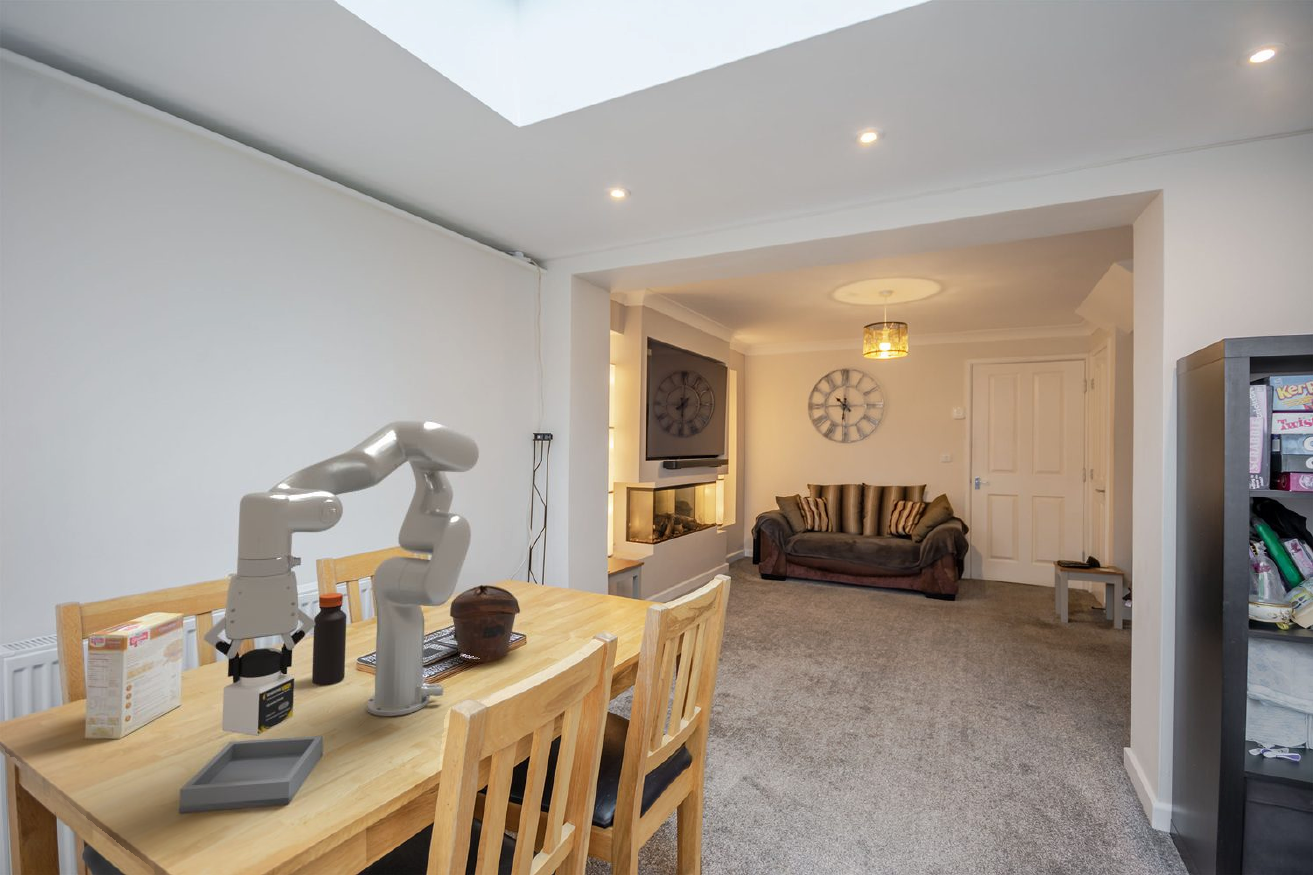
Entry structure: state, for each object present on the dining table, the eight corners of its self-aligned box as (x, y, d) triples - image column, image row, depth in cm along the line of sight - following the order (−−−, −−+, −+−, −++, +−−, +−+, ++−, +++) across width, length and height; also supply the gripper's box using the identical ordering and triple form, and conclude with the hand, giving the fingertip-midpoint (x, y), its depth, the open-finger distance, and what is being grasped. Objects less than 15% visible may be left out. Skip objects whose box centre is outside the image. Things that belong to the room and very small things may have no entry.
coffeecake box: (148, 704, 127) (152, 611, 128) (182, 705, 127) (186, 612, 128) (81, 738, 112) (86, 633, 113) (120, 739, 112) (124, 634, 113)
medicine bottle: (258, 736, 95) (261, 660, 96) (220, 731, 97) (223, 656, 97) (293, 717, 102) (296, 646, 103) (258, 712, 104) (261, 642, 104)
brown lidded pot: (485, 637, 176) (486, 576, 176) (533, 652, 164) (534, 587, 164) (431, 655, 161) (433, 588, 161) (480, 673, 150) (482, 601, 150)
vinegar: (304, 683, 140) (307, 597, 140) (328, 673, 146) (331, 590, 147) (328, 687, 138) (331, 600, 138) (351, 676, 145) (353, 593, 145)
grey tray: (322, 755, 108) (323, 735, 109) (288, 803, 94) (289, 781, 94) (229, 761, 106) (230, 741, 106) (179, 812, 91) (180, 789, 91)
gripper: (320, 558, 108) (316, 659, 108) (200, 567, 98) (195, 679, 98) (326, 566, 102) (322, 672, 102) (198, 576, 92) (193, 695, 92)
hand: (260, 674), depth 100 cm, fingers closed on medicine bottle, 6 cm apart
